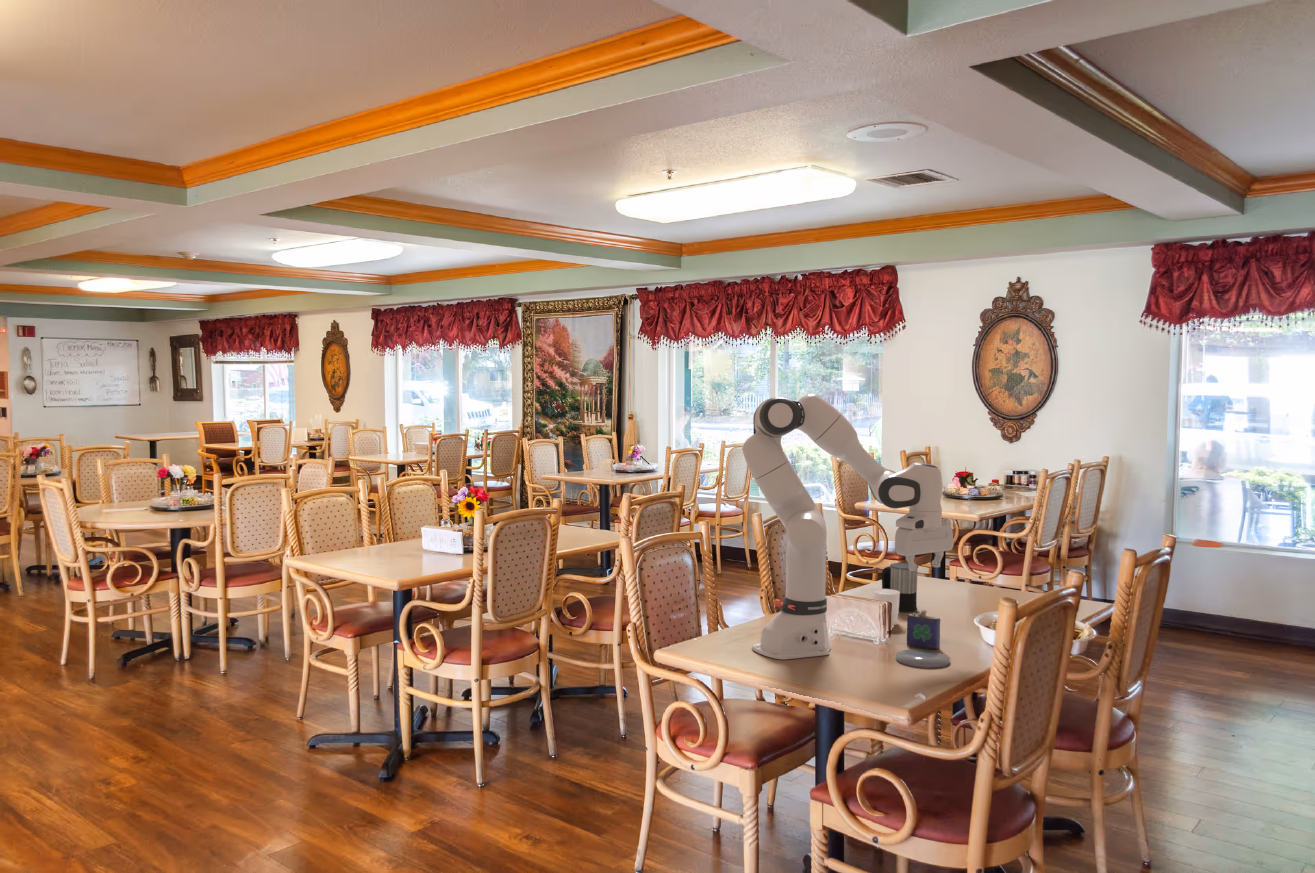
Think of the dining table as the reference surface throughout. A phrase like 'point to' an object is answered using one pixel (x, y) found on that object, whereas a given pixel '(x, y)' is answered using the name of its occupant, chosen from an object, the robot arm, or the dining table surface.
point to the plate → (922, 658)
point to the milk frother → (902, 584)
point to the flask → (923, 631)
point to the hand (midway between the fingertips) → (924, 568)
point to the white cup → (891, 597)
